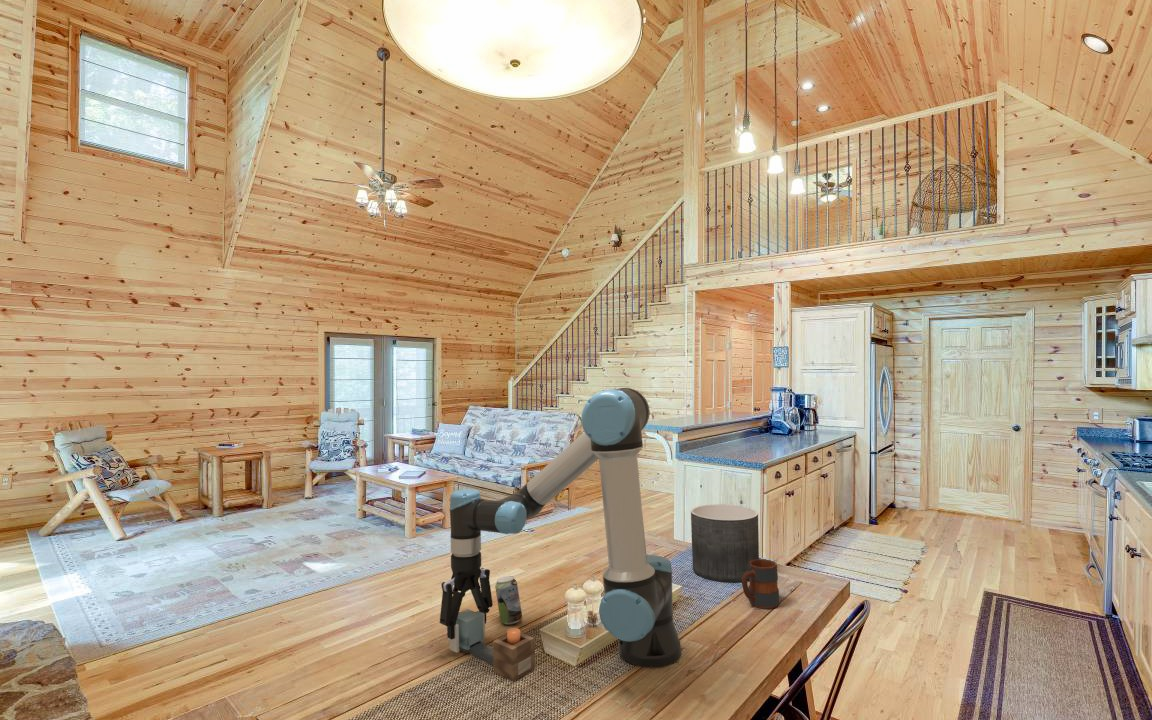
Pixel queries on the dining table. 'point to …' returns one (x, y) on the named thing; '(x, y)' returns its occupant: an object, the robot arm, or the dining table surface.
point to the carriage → (469, 628)
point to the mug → (762, 584)
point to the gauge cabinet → (514, 657)
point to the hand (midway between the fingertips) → (467, 644)
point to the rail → (480, 651)
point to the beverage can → (508, 600)
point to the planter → (724, 541)
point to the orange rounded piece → (513, 636)
